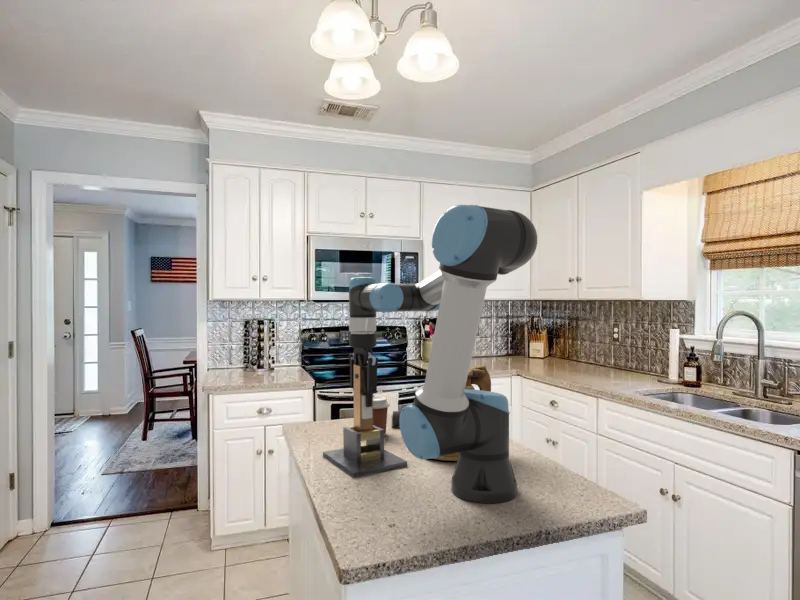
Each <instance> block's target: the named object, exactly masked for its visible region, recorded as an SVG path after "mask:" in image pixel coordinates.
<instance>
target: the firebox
mask: <svg viewBox="0 0 800 600" xmlns="http://www.w3.org/2000/svg"><path fill="white" fill-rule="evenodd" d="M342 428H343V431H342V432H343V434H342V435H343V437H342V438H343V447H342V448H339V449H338V448H337V449H333V450H328V451H323V452H322V456H323V458H325V459H326V460H327V461H329V462H331V463H332V464H334V465H335V466H336V467H337V468H339V469H341V470H342V471H343V472H345V473H346V474H347V475H349V476H351V477H352V478H357V477H362V476H366V475H367V476H368V475H372V474H374V473H375V474H376V473H381V472H385V471H390V470H396V469H400V468H404V467H407V466H408V461H407V460H406V459H404V458H401V457H400V456H397V455H396V454H393V453H392V452H390V451H388V450H386V449H385V436H384V429H381V428H379V427H377V426H375V425H373V430H371V431H365V432H357V431H355V430H354V425H351V426H344V427H342ZM364 441H365V442H366V443H365V444H362V442H364Z"/></svg>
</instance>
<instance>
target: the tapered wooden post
mask: <svg viewBox="0 0 800 600" xmlns="http://www.w3.org/2000/svg"><path fill="white" fill-rule="evenodd" d="M363 367H367V366H363ZM362 393H364V391H363V371H362V370H361V366H359V365H354V391H353V426H354V430H355V431H357V432H365V431H371V430H373V397H374V394H373V395H372V418H369V419H362V395H361V394H362Z"/></svg>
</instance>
